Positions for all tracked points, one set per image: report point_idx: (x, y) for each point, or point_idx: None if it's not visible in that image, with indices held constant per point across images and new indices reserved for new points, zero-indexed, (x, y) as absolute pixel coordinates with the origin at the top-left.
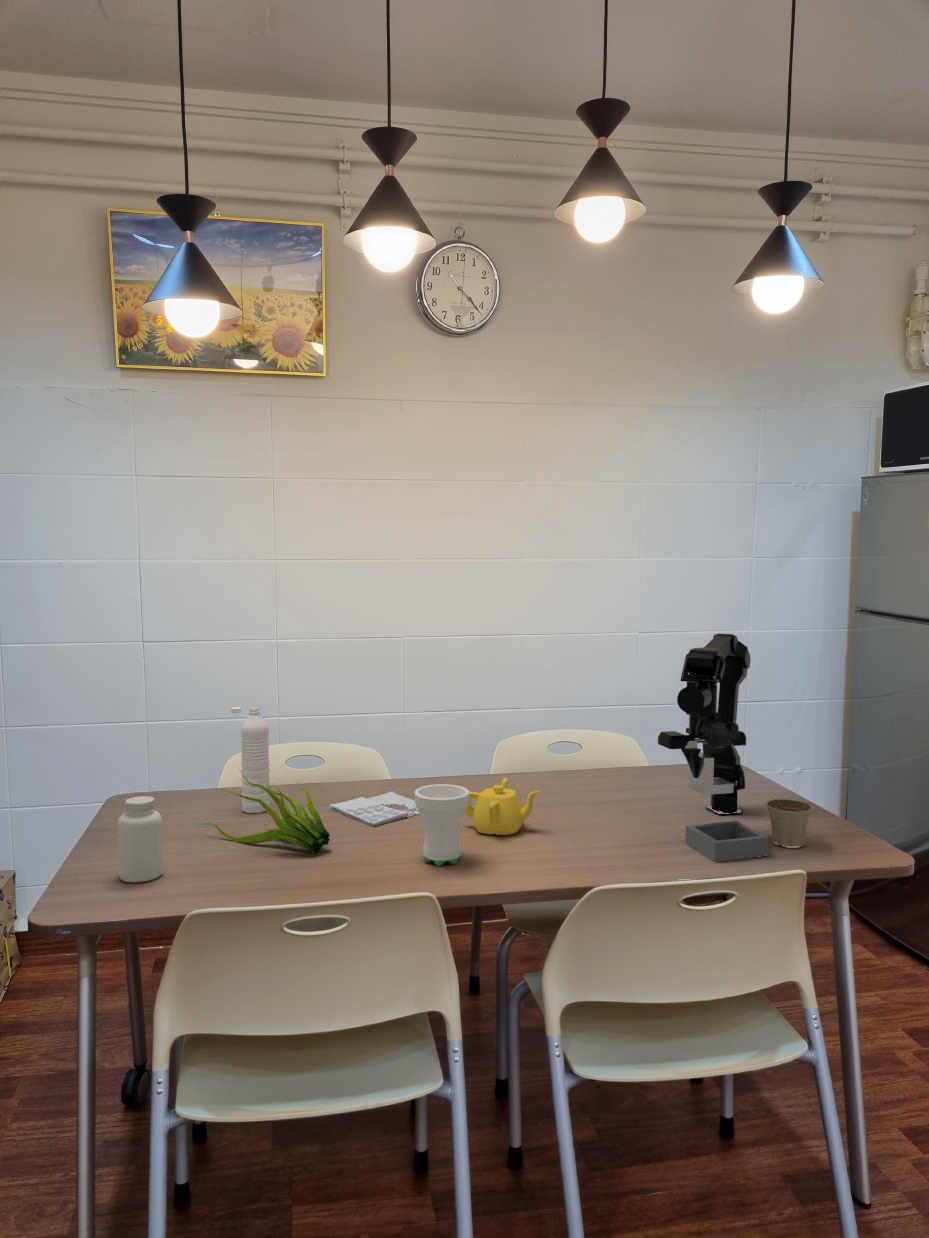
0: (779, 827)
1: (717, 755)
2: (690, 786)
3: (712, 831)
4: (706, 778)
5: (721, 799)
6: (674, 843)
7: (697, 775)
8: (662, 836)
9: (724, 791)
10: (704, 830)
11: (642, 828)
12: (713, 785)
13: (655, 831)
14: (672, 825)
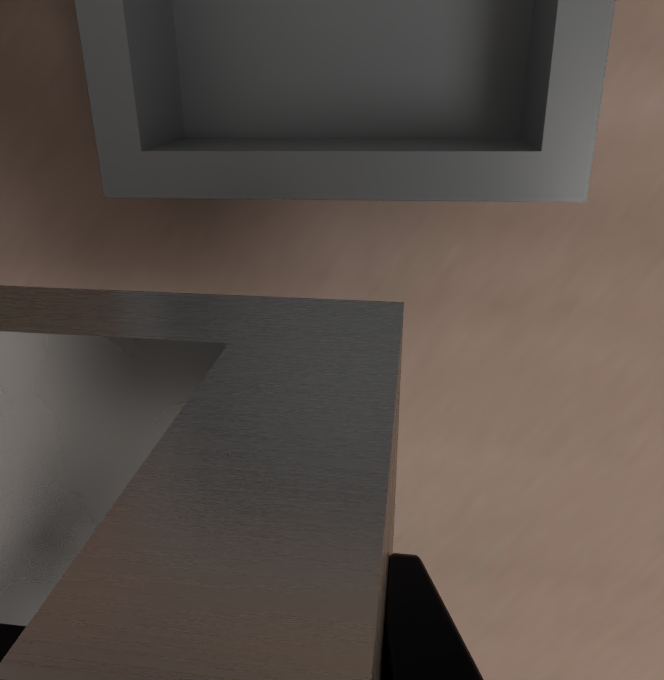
0: None
1: None
2: None
3: (356, 144)
4: (332, 402)
5: (7, 624)
6: (620, 208)
7: (396, 573)
8: (604, 353)
9: (92, 296)
10: (429, 147)
11: (625, 507)
12: (224, 340)
13: (584, 442)
14: (415, 497)
